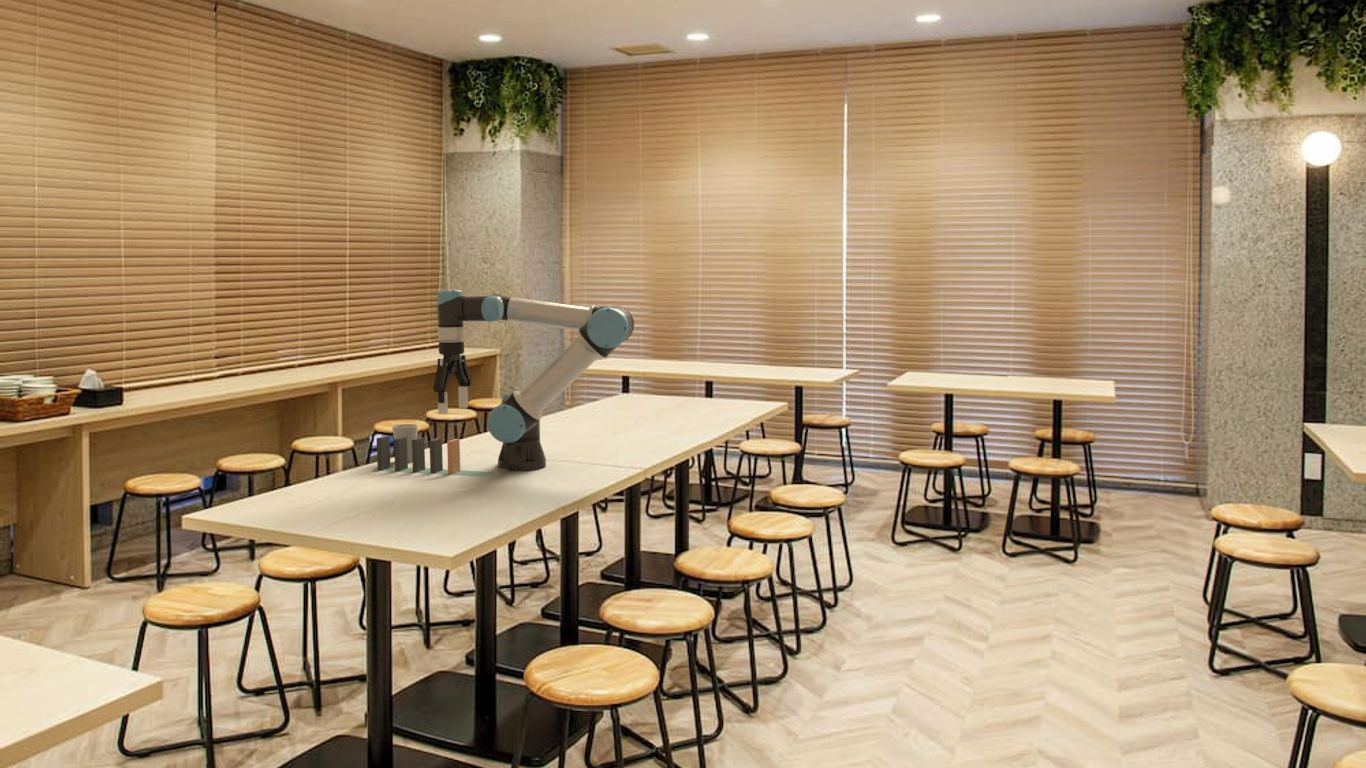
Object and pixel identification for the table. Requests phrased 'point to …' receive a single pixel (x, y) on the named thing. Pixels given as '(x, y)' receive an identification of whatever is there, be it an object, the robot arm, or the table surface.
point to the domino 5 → (453, 456)
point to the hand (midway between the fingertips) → (453, 410)
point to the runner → (444, 472)
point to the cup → (408, 432)
